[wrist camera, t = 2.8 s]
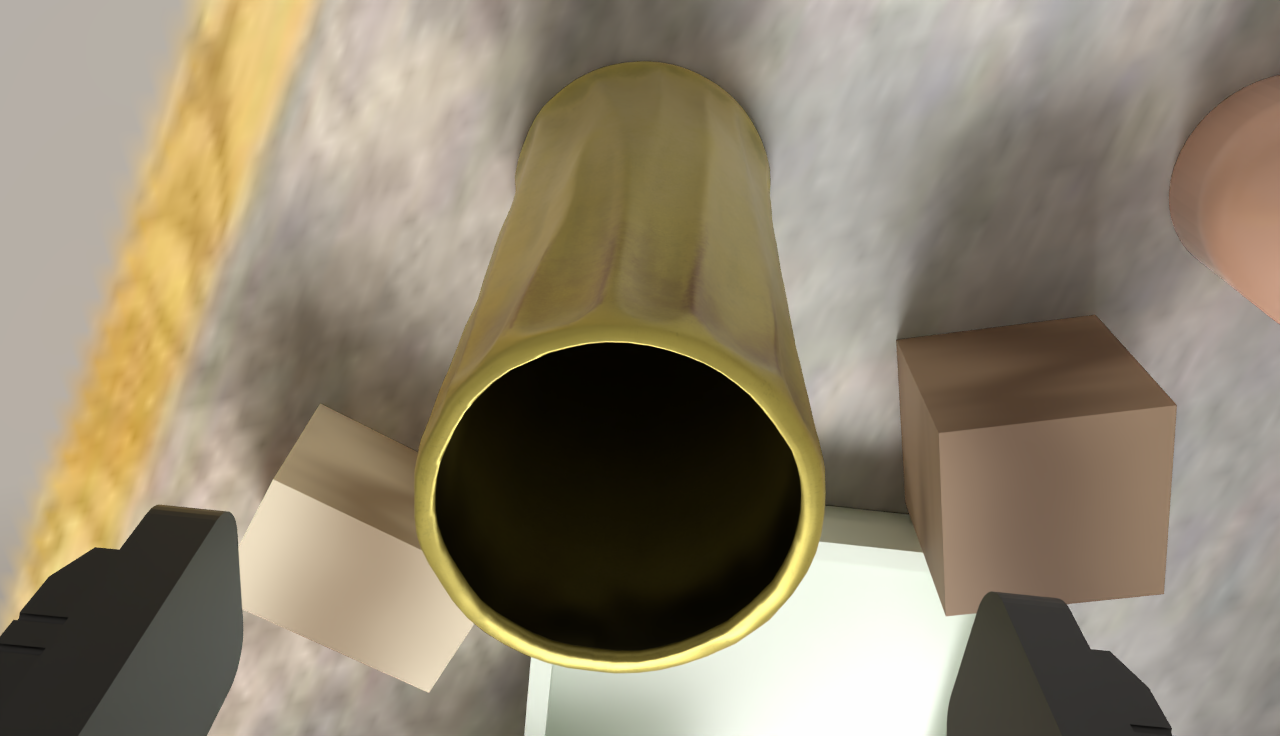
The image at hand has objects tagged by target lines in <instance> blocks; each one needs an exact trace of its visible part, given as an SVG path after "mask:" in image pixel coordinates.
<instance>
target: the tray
mask: <svg viewBox="0 0 1280 736" xmlns="http://www.w3.org/2000/svg"><path fill="white" fill-rule="evenodd" d="M975 617H976V613H975V614H965V615H956V616H945V613H944V610H943V607H942V605H941V602H940V599H939V596H938V593H937V591H936V588H935V585H934V582H933V579H932V576H931V574H930V571H929V568H928V565H927V562H926V560H925V557H924V554H923V551H922V548H921V546H920V543H919V540H918V537H917V534H916V532H915V529H914V526H913V523H912V520H911V518H910V515H908V514H899V513H890V512H880V511H871V510H862V509H853V508H844V507H834V506H825V514H824V520H823V527H822V534H821V537H820V541H819V544H818V548H817V551H816V554H815V556H814V559H813V561H812V563H811V565H810V568H809V570H808V572H807V574H806V575H805V577H804V578H803V579H802V581H801V582H800V584H799V585H798V587H797V588H796V590H795V591H794V593H793V594H792V596H791V597H790V598H789V599H788V600H787V601H786V602H785V604H784V605H783V606H782V607H781V608H780V609H779V610H778V611H777V612H776V614H775V615H774V616H773V617H772V618H771V619H770V620H769V621H767V622H766V623H765V624H764V625H762V626H761V627H759V628H758V629H756V630H755V631H753V632H752V633H751V634H749V635H748V636H746V637H745V638H743V639H742V640H740V641H739V642H737V643H736V644H734V645H732V646H729V647H727V648H725V649H723V650H720V651H718V652H716V653H714V654H711V655H709V656H707V657H704V658H701V659H698V660H695V661H692V662H689V663H686V664H683V665H680V666H676V667H671V668H667V669H663V670H657V671H649V672H642V673H615V674H614V673H605V672H596V671H587V670H580V669H572V668H566V667H562V666H557V665H553V664H549V663H546V662H543V661H540V660H538V659H535V658H532V657H531V664H530V675H529V686H528V698H527V709H526V721H525V732H524V736H947V713H948V706H949V701H950V697H951V693H952V690H953V687H954V684H955V681H956V677H957V674H958V671H959V668H960V665H961V661H962V658H963V655H964V652H965V649H966V645H967V642H968V639H969V636H970V633H971V629H972V626H973V623H974V620H975Z"/></svg>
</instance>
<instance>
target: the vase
mask: <svg viewBox="0 0 1280 736" xmlns="http://www.w3.org/2000/svg"><path fill="white" fill-rule="evenodd" d="M515 185H516V193H515V196H514V200H513V203H512V206H511V208H510V211H509V213H508V215H507V217H506V219H505V222H504V224H503V226H502V228H501V231H500V233H499V236H498V239H497V242H496V245H495V248H494V251H493V254H492V257H491V260H490V263H489V266H488V269H487V272H486V275H485V278H484V281H483V284H482V287H481V291H480V294H479V298H478V300H477V303H476V305H475V307H474V309H473V311H472V313H471V316H470V318H469V320H468V322H467V324H466V326H465V328H464V331H463V333H462V336H461V339H460V341H459V344H458V347H457V349H456V352H455V354H454V357H453V359H452V362H451V365H450V367H449V370H448V372H447V374H446V377H445V379H444V381H443V383H442V386H441V388H440V391H439V393H438V396H437V399H436V401H435V404H434V407H433V410H432V413H431V416H430V418H429V421H428V423H427V426H426V429H425V431H424V433H423V436H422V438H421V442H420V446H419V451H418V456H417V460H416V465H415V472H414V518H415V526H416V534H417V537H418V541H419V544H420V547H421V550H422V552H423V554H424V556H425V558H426V560H427V562H428V564H429V565H430V567H431V568H432V570H433V572H434V573H435V575H436V576H437V578H438V579H439V581H440V583H441V584H442V586H443V587H444V589H445V590H446V592H447V593H448V595H449V596H450V598H451V600H452V601H453V602H454V603H455V604H456V606H457V607H458V608H459V609H460V610H461V611H462V613H463V614H464V615H465V616H466V617H467V618H468V619H469V620H470V621H471V622H473V623H474V624H475V625H477V626H478V627H479V628H480V629H482V630H483V631H484V632H485V633H487V634H489V635H490V636H492V637H493V638H495V639H496V640H498V641H500V642H501V643H503V644H505V645H507V646H509V647H511V648H513V649H515V650H517V651H519V652H521V653H523V654H525V655H527V656H530V657H532V658H535V659H538V660H540V661H543V662H546V663H549V664H553V665H557V666H562V667H566V668H572V669H580V670H587V671H596V672H605V673H614V674H615V673H642V672H649V671H657V670H663V669H667V668H671V667H676V666H680V665H683V664H686V663H689V662H692V661H695V660H698V659H701V658H704V657H707V656H709V655H711V654H714V653H716V652H718V651H720V650H723V649H725V648H727V647H729V646H732V645H734V644H736V643H737V642H739V641H740V640H742V639H743V638H745V637H746V636H748V635H749V634H751V633H752V632H753V631H755V630H756V629H758V628H759V627H761V626H762V625H764V624H765V623H766V622H767V621H769V620H770V619H771V618H772V617H773V616H774V615H775V614H776V612H777V611H778V610H779V609H780V608H781V607H782V606H783V605H784V604H785V602H786V601H787V600H788V599H789V598H790V597H791V596H792V594H793V593H794V591H795V590H796V588H797V587H798V585H799V584H800V582H801V581H802V579H803V578H804V577H805V575H806V574H807V572H808V570H809V568H810V565H811V563H812V561H813V559H814V556H815V554H816V551H817V548H818V544H819V541H820V537H821V534H822V527H823V520H824V514H825V495H826V489H825V467H824V460H823V456H822V452H821V447H820V443H819V439H818V436H817V432H816V428H815V424H814V420H813V416H812V411H811V407H810V403H809V398H808V395H807V391H806V387H805V382H804V378H803V374H802V369H801V365H800V361H799V357H798V353H797V350H796V345H795V340H794V334H793V329H792V325H791V320H790V314H789V309H788V303H787V298H786V293H785V288H784V283H783V278H782V274H781V269H780V263H779V256H778V250H777V244H776V239H775V234H774V229H773V223H772V211H771V201H770V168H769V163H768V159H767V155H766V152H765V149H764V146H763V143H762V141H761V139H760V136H759V134H758V132H757V130H756V128H755V126H754V125H753V123H752V121H751V119H750V118H749V116H748V115H747V114H746V112H745V111H744V110H743V108H742V107H741V106H740V105H739V104H738V102H737V101H736V100H735V99H734V98H733V97H731V96H730V95H729V94H728V93H727V92H726V91H725V90H723V89H722V88H721V87H720V86H718V85H717V84H715V83H714V82H712V81H710V80H709V79H707V78H705V77H703V76H702V75H700V74H698V73H695V72H693V71H691V70H688V69H686V68H683V67H679V66H676V65H672V64H667V63H661V62H648V61H637V62H626V63H619V64H614V65H609V66H606V67H603V68H599V69H597V70H594V71H592V72H590V73H588V74H585V75H584V76H582V77H580V78H578V79H576V80H574V81H573V82H571V83H570V84H569V85H567V86H566V87H564V88H563V89H562V90H561V91H560V92H558V93H557V94H556V95H555V96H554V97H553V98H552V99H551V100H550V101H549V102H548V103H547V104H546V105H545V106H544V107H543V108H542V109H541V110H540V112H539V113H538V115H537V116H536V118H535V119H534V121H533V123H532V126H531V128H530V130H529V132H528V134H527V137H526V139H525V142H524V144H523V147H522V150H521V153H520V156H519V159H518V163H517V169H516V174H515Z"/></svg>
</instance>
